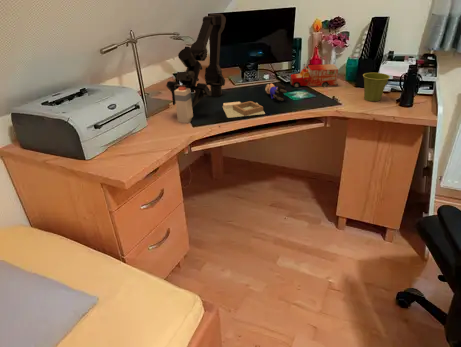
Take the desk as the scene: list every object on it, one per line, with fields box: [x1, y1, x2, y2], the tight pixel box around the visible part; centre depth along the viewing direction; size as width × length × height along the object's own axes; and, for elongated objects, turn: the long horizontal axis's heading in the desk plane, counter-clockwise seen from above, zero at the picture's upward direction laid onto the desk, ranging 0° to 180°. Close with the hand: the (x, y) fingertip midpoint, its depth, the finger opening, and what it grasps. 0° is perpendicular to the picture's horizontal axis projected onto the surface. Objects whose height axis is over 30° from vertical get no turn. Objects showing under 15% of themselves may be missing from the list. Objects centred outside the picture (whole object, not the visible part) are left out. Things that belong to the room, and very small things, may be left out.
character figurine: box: [264, 81, 287, 102], centre depth 173 cm, size 8×7×15 cm
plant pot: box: [362, 72, 391, 102], centre depth 166 cm, size 12×12×11 cm
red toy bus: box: [289, 63, 339, 88], centre depth 190 cm, size 11×25×10 cm, turn 88°
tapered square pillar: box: [174, 86, 194, 124], centre depth 151 cm, size 5×5×15 cm
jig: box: [222, 100, 266, 119], centre depth 160 cm, size 15×17×3 cm
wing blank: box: [222, 101, 241, 110], centre depth 164 cm, size 3×8×2 cm, turn 100°
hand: (182, 105), depth 151 cm, fingers open, 9 cm apart
